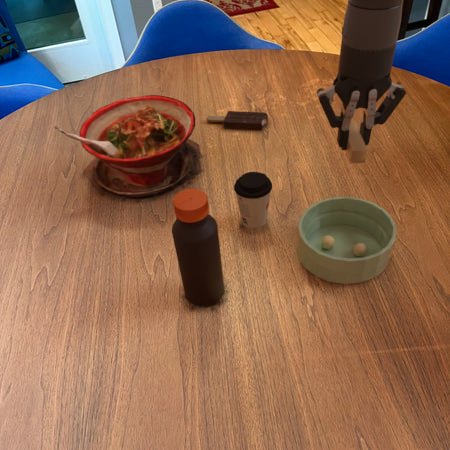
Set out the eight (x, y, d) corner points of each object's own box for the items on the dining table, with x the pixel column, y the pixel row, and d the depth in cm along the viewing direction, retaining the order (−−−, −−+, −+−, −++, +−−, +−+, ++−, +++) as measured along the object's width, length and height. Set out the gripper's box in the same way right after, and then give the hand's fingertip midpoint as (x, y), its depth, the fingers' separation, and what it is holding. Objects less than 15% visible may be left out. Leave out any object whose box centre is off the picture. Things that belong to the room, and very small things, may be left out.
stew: (79, 221, 96) (51, 151, 84) (78, 156, 112) (54, 89, 100) (215, 195, 99) (207, 124, 86) (195, 135, 114) (186, 67, 102)
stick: (353, 133, 83) (355, 120, 81) (365, 163, 77) (367, 149, 75) (339, 134, 83) (341, 121, 81) (350, 164, 77) (352, 150, 75)
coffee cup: (239, 237, 90) (236, 194, 82) (233, 214, 95) (230, 171, 87) (275, 231, 90) (276, 188, 83) (268, 208, 95) (267, 165, 87)
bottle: (211, 313, 79) (198, 220, 63) (177, 300, 81) (156, 207, 66) (231, 286, 82) (223, 191, 67) (198, 273, 85) (182, 179, 70)
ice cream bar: (204, 127, 116) (265, 130, 113) (203, 121, 115) (265, 124, 112) (209, 115, 119) (268, 118, 117) (208, 109, 118) (268, 112, 115)
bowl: (376, 218, 91) (382, 192, 86) (400, 281, 80) (408, 256, 76) (291, 226, 91) (292, 200, 87) (304, 289, 81) (306, 264, 76)
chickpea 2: (364, 249, 85) (366, 239, 83) (367, 258, 84) (369, 248, 82) (350, 250, 85) (352, 240, 83) (353, 260, 84) (355, 250, 82)
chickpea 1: (332, 242, 87) (334, 232, 85) (335, 251, 85) (336, 241, 83) (319, 243, 87) (320, 233, 85) (321, 252, 85) (323, 242, 83)
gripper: (324, 51, 64) (313, 163, 77) (428, 43, 64) (400, 156, 77) (315, 30, 69) (307, 138, 82) (412, 22, 69) (388, 132, 82)
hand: (352, 146), depth 80 cm, fingers closed on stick, 2 cm apart
